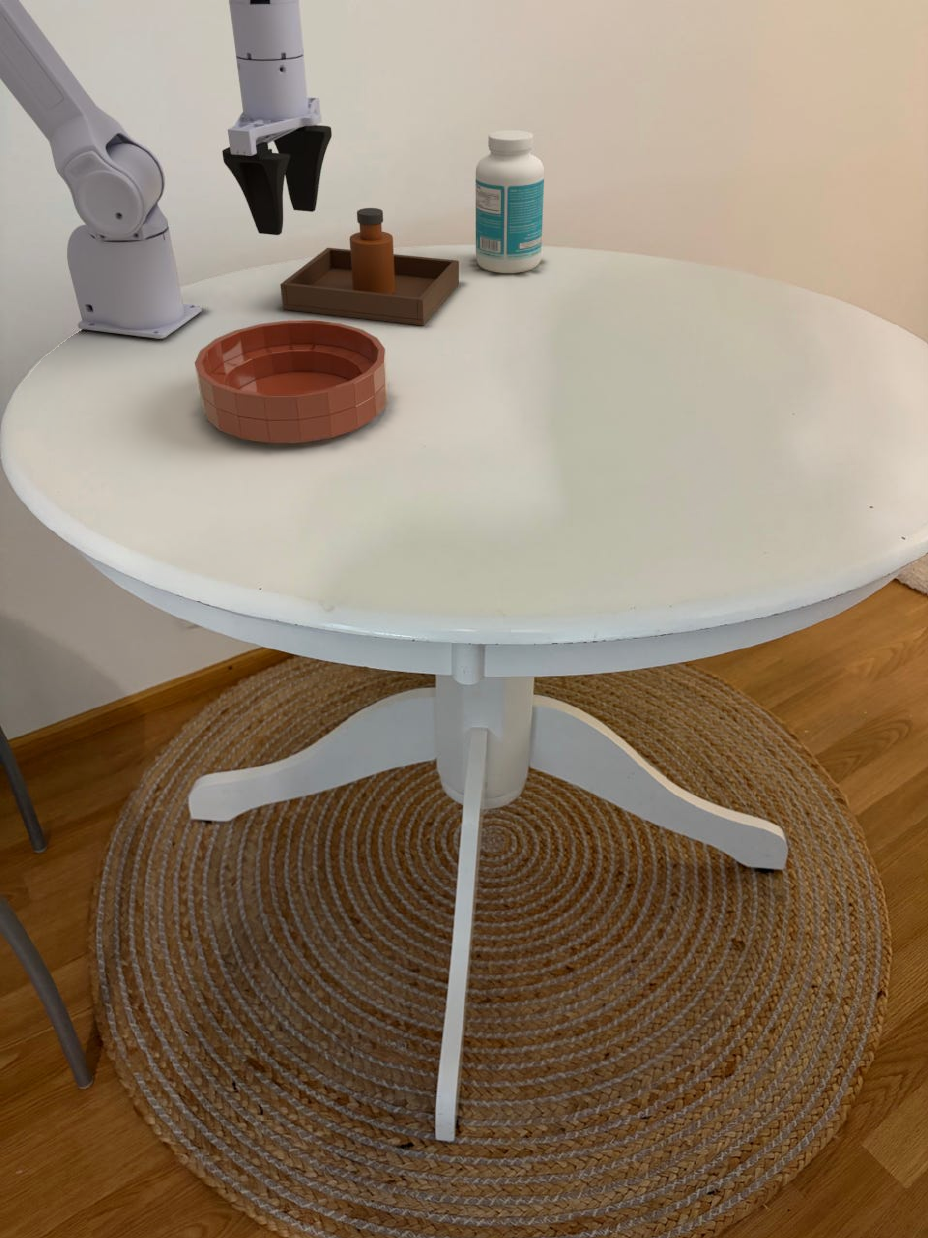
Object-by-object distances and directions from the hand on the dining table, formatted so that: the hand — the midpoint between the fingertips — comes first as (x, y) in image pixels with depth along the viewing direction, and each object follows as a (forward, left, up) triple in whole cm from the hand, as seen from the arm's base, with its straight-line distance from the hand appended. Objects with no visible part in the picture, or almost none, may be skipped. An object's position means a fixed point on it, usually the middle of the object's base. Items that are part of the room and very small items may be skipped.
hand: (287, 221), depth 90 cm
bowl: (+8, -18, -9) cm, 22 cm away
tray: (+5, +8, -9) cm, 13 cm away
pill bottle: (+16, +22, -10) cm, 29 cm away
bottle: (+5, +8, -9) cm, 13 cm away
